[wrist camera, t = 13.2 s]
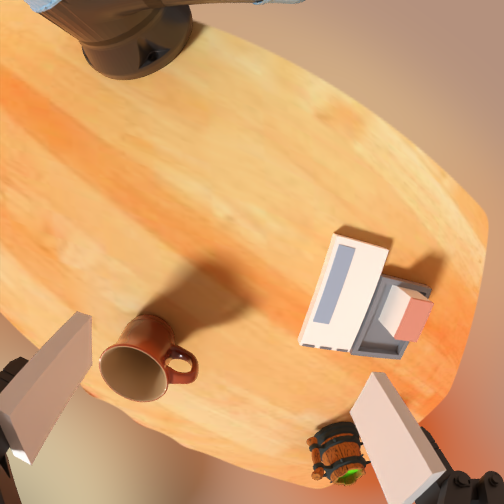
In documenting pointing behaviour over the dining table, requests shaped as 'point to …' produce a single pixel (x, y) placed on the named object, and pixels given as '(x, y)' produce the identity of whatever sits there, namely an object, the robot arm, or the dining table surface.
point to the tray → (372, 331)
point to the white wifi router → (342, 293)
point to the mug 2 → (337, 454)
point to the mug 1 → (145, 360)
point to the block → (405, 313)
